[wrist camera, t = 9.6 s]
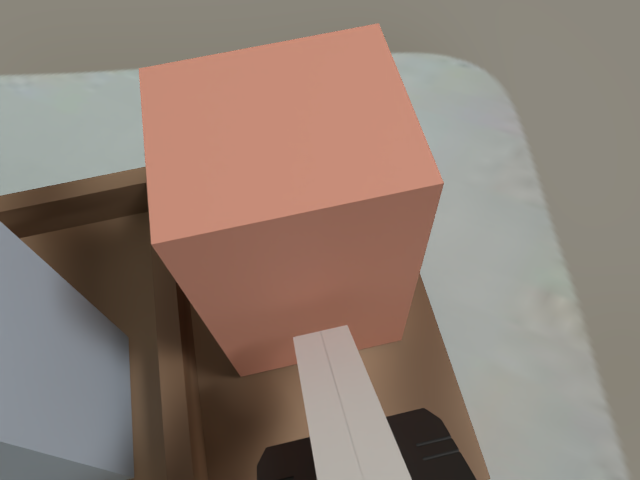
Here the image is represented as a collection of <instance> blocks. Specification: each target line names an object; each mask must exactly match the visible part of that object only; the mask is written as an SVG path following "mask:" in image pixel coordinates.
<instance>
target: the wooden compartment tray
mask: <svg viewBox="0 0 640 480" xmlns="http://www.w3.org/2000/svg"><path fill="white" fill-rule="evenodd" d="M0 222H2V223H3V224H4V225H5V226H6V227H7V228H8V229H9V230H10V231H12V232H13V233H14V234H15V235H16V236H17V237H18V238H19V239H20V240H21V241H23V242H24V243H25V244H26V245H27V246H28V247H29V248H30V249H31V250H33V251H34V252H35V253H36V254H37V255H38V256H39V257H40V258H41V259H43V260H44V261H45V262H46V263H47V264H48V265H49V266H50V267H51V268H52V269H54V270H55V271H56V272H57V273H58V274H59V275H60V276H61V277H62V278H64V279H65V280H66V281H67V282H68V283H69V284H70V285H71V286H72V287H73V288H75V289H76V290H77V291H78V292H79V293H80V294H81V295H82V296H83V297H85V298H86V299H87V300H88V301H89V302H90V303H91V304H92V305H93V306H95V307H96V308H97V309H98V310H99V311H100V312H101V313H102V314H103V315H104V316H106V317H107V318H108V319H109V320H110V321H111V322H112V323H113V324H114V325H116V326H117V327H118V328H119V329H120V330H121V331H122V332H123V333H124V334H125V335H127V336H128V338H129V362H130V386H131V410H132V434H133V458H134V478H132V479H127V480H257V464H258V462H259V460H260V458H261V456H262V454H263V452H264V450H265V448H266V447H270V446H274V445H278V444H282V443H286V442H291V441H295V440H299V439H303V438H307V437H310V435H309V429H308V423H307V417H306V411H305V405H304V400H303V394H302V388H301V382H300V376H299V370H298V364H295V365H291V366H286V367H282V368H277V369H273V370H269V371H264V372H260V373H256V374H251V375H247V376H242V377H241V376H240V375H239V374H238V372H237V371H236V369H235V368H234V366H233V365H232V363H231V362H230V360H229V359H228V357H227V356H226V354H225V353H224V351H223V350H222V348H221V347H220V345H219V344H218V342H217V341H216V340H215V338H214V337H213V335H212V334H211V332H210V331H209V329H208V328H207V326H206V325H205V323H204V322H203V320H202V319H201V317H200V316H199V314H198V313H197V311H196V310H195V309H194V307H193V306H192V304H191V303H190V301H189V300H188V298H187V297H186V295H185V294H184V292H183V291H182V289H181V288H180V286H179V285H178V283H177V282H176V280H175V279H174V277H173V276H172V275H171V273H170V272H169V270H168V269H167V267H166V266H165V264H164V263H163V261H162V260H161V258H160V257H159V255H158V254H157V252H156V251H155V249H154V248H153V246H152V245H151V235H150V220H149V206H148V192H147V177H146V167H142V168H137V169H132V170H127V171H122V172H117V173H112V174H107V175H102V176H97V177H92V178H87V179H82V180H77V181H72V182H67V183H62V184H57V185H52V186H47V187H42V188H37V189H32V190H27V191H22V192H17V193H12V194H7V195H2V196H0ZM358 352H359V354H360V356H361V359H362V361H363V364H364V366H365V368H366V371H367V373H368V376H369V378H370V380H371V383H372V385H373V388H374V390H375V392H376V395H377V397H378V400H379V402H380V404H381V407H382V409H383V412H384V414H385V416H386V417H387V416H392V415H396V414H400V413H404V412H408V411H412V410H417V409H421V408H425V409H427V410H428V411H430V412H431V413H433V414H434V415H436V416H437V417H439V418H440V419H441V420H442V421H443V423H444V425H445V426H446V428H447V430H448V432H449V433H450V435H451V438H452V439H453V440H454V442H455V444H456V445H457V447H458V449H459V452H461V454H462V455H463V457H464V459H465V461H466V462H467V464H468V466H469V467H470V469H471V471H472V473H473V474H474V476H475V478H476V479H477V480H488V479H490V476H489V473H488V470H487V467H486V464H485V461H484V458H483V455H482V452H481V450H480V447H479V444H478V441H477V438H476V435H475V432H474V429H473V426H472V423H471V421H470V418H469V415H468V412H467V409H466V406H465V403H464V400H463V397H462V394H461V392H460V389H459V386H458V383H457V380H456V377H455V374H454V371H453V368H452V365H451V363H450V360H449V357H448V354H447V351H446V348H445V345H444V342H443V339H442V336H441V334H440V331H439V328H438V325H437V322H436V319H435V316H434V313H433V310H432V307H431V305H430V302H429V299H428V296H427V293H426V290H425V287H424V284H423V281H422V278H421V276H420V273H419V277H418V281H417V284H416V288H415V292H414V295H413V299H412V303H411V306H410V310H409V314H408V318H407V321H406V325H405V329H404V332H403V336H402V340H400V341H396V342H392V343H387V344H383V345H378V346H374V347H370V348H365V349H361V350H358Z"/></svg>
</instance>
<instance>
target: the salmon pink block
mask: <svg viewBox="0 0 640 480" xmlns="http://www.w3.org/2000/svg"><path fill="white" fill-rule="evenodd" d="M139 77H140V92H141V106H142V120H143V134H144V149H145V163H146V177H147V192H148V206H149V220H150V235H151V245H152V246H153V248H154V249H155V251H156V252H157V254H158V255H159V257H160V258H161V260H162V261H163V263H164V264H165V266H166V267H167V269H168V270H169V272H170V273H171V275H172V276H173V277H174V279H175V280H176V282H177V283H178V285H179V286H180V288H181V289H182V291H183V292H184V294H185V295H186V297H187V298H188V300H189V301H190V303H191V304H192V306H193V307H194V309H195V310H196V311H197V313H198V314H199V316H200V317H201V319H202V320H203V322H204V323H205V325H206V326H207V328H208V329H209V331H210V332H211V334H212V335H213V337H214V338H215V340H216V341H217V342H218V344H219V345H220V347H221V348H222V350H223V351H224V353H225V354H226V356H227V357H228V359H229V360H230V362H231V363H232V365H233V366H234V368H235V369H236V371H237V372H238V374H239V375H240V376H241V377H242V376H247V375H251V374H256V373H260V372H264V371H269V370H273V369H277V368H282V367H286V366H291V365H295V364H297V358H296V353H295V347H294V341H293V337H296V336H300V335H305V334H309V333H314V332H318V331H322V330H327V329H331V328H336V327H340V326H344V325H348V328H349V330H350V333H351V335H352V337H353V340H354V342H355V344H356V347H357V349H358V350H361V349H365V348H370V347H374V346H378V345H383V344H387V343H392V342H396V341H400V340H402V336H403V332H404V329H405V325H406V321H407V318H408V314H409V310H410V306H411V303H412V299H413V295H414V292H415V288H416V284H417V281H418V277H419V273H420V269H421V266H422V262H423V258H424V255H425V251H426V247H427V243H428V240H429V236H430V232H431V229H432V225H433V221H434V218H435V214H436V210H437V206H438V203H439V199H440V195H441V192H442V188H443V184H444V182H443V180H442V178H441V175H440V173H439V170H438V168H437V165H436V163H435V160H434V158H433V155H432V153H431V151H430V148H429V146H428V143H427V141H426V138H425V136H424V133H423V131H422V128H421V126H420V124H419V121H418V119H417V116H416V114H415V111H414V109H413V106H412V104H411V101H410V99H409V97H408V94H407V92H406V89H405V87H404V84H403V82H402V79H401V77H400V74H399V72H398V70H397V67H396V65H395V62H394V60H393V57H392V55H391V52H390V50H389V48H388V45H387V43H386V40H385V38H384V35H383V33H382V30H381V28H380V25H379V24H373V25H367V26H362V27H357V28H352V29H346V30H341V31H336V32H330V33H325V34H320V35H314V36H309V37H304V38H298V39H293V40H288V41H283V42H277V43H273V44H267V45H262V46H256V47H251V48H245V49H240V50H235V51H229V52H224V53H219V54H214V55H208V56H203V57H198V58H192V59H187V60H182V61H177V62H171V63H166V64H160V65H155V66H150V67H144V68H139Z"/></svg>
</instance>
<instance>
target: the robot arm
mask: <svg viewBox="0 0 640 480" xmlns="http://www.w3.org/2000/svg"><path fill="white" fill-rule="evenodd" d="M293 341H294V347H295V353H296V358H297V364H298V370H299V376H300V382H301V388H302V394H303V400H304V405H305V411H306V417H307V423H308V429H309V435H310V437H307V438H303V439H299V440H295V441H291V442H286V443H282V444H278V445H274V446H270V447H266V448H265V450H264V452H263V454H262V456H261V458H260V460H259V462H258V464H257V480H477V479H476V478H475V476H474V474H473V473H472V471H471V469H470V467H469V466H468V464H467V462H466V461H465V459H464V457H463V455H462V454H461V452H459V449H458V447H457V445H456V444H455V442H454V440H453V439H452V438H451V435H450V433H449V432H448V430H447V428H446V426H445V425H444V423H443V421H442V420H441V419H440V418H439V417H437V416H436V415H434V414H433V413H431V412H430V411H428V410H427V409H425V408H421V409H417V410H412V411H408V412H404V413H400V414H396V415H392V416H387V417H386V416H385V414H384V412H383V409H382V407H381V404H380V402H379V400H378V397H377V395H376V392H375V390H374V388H373V385H372V383H371V380H370V378H369V376H368V373H367V371H366V368H365V366H364V364H363V361H362V359H361V356H360V354H359V352H358V349H357V347H356V344H355V342H354V340H353V337H352V335H351V333H350V330H349V328H348V325H344V326H340V327H336V328H331V329H327V330H322V331H318V332H314V333H309V334H305V335H300V336H296V337H293Z"/></svg>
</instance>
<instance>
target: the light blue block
mask: <svg viewBox="0 0 640 480" xmlns="http://www.w3.org/2000/svg"><path fill="white" fill-rule="evenodd" d="M132 478H134V458H133V434H132V410H131V386H130V362H129V338H128V336H127V335H125V334H124V333H123V332H122V331H121V330H120V329H119V328H118V327H117V326H116V325H114V324H113V323H112V322H111V321H110V320H109V319H108V318H107V317H106V316H104V315H103V314H102V313H101V312H100V311H99V310H98V309H97V308H96V307H95V306H93V305H92V304H91V303H90V302H89V301H88V300H87V299H86V298H85V297H83V296H82V295H81V294H80V293H79V292H78V291H77V290H76V289H75V288H73V287H72V286H71V285H70V284H69V283H68V282H67V281H66V280H65V279H64V278H62V277H61V276H60V275H59V274H58V273H57V272H56V271H55V270H54V269H52V268H51V267H50V266H49V265H48V264H47V263H46V262H45V261H44V260H43V259H41V258H40V257H39V256H38V255H37V254H36V253H35V252H34V251H33V250H31V249H30V248H29V247H28V246H27V245H26V244H25V243H24V242H23V241H21V240H20V239H19V238H18V237H17V236H16V235H15V234H14V233H13V232H12V231H10V230H9V229H8V228H7V227H6V226H5V225H4V224H3V223H2V222H0V480H127V479H132Z"/></svg>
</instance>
